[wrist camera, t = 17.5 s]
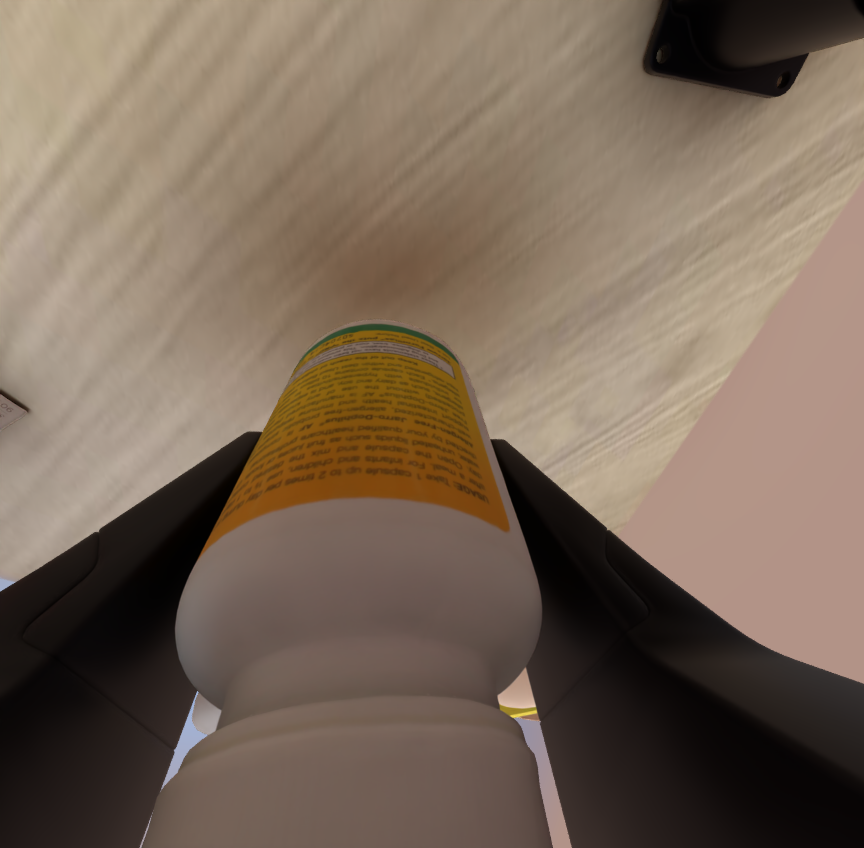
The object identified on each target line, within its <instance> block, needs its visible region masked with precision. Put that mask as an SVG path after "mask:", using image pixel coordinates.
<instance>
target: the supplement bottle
mask: <svg viewBox="0 0 864 848" xmlns="http://www.w3.org/2000/svg"><path fill="white" fill-rule="evenodd" d="M541 624H542V600H541V594H540V589H539V585H538V580H537V577H536V574H535V571H534V567H533V564H532V561H531V558H530V555H529V552H528V548H527V545H526V542H525V539H524V536H523V533H522V530H521V527H520V524H519V521H518V519H517V516H516V513H515V510H514V507H513V505H512V502H511V499H510V496H509V493H508V490H507V487H506V484H505V481H504V478H503V475H502V472H501V469H500V467H499V464H498V461H497V458H496V455H495V452H494V449H493V446H492V443H491V440H490V437H489V434H488V431H487V428H486V425H485V422H484V419H483V416H482V413H481V410H480V407H479V404H478V401H477V398H476V395H475V391H474V388H473V386H472V384H471V381H470V378H469V376H468V374H467V372H466V369H465V367H464V365H463V364H462V362H461V361H460V359H459V358H458V356H457V355H456V354H455V353H454V352H453V351H452V349H451V348H450V347H449V346H448V345H447V344H446V343H445V342H443V341H442V340H441V339H439V338H438V337H436V336H435V335H433V334H431V333H429V332H427V331H424V330H423V329H421V328H417V327H415V326H412V325H409V324H406V323H402V322H399V321H393V320H385V319H368V320H361V321H356V322H352V323H348V324H345V325H342V326H340V327H338V328H335V329H333V330H331V331H329V332H328V333H326V334H325V335H323V336H322V337H320V338H319V339H317V340H316V341H315V342H314V343H313V344H312V345H311V346H310V347H309V348H308V349H307V351H306V352H305V353H304V355H303V356H302V358H301V360H300V361H299V363H298V365H297V366H296V368H295V370H294V372H293V374H292V376H291V378H290V380H289V382H288V384H287V385H286V387H285V389H284V391H283V393H282V394H281V396H280V398H279V400H278V403H277V405H276V407H275V409H274V411H273V413H272V415H271V417H270V419H269V421H268V423H267V425H266V426H265V428H264V430H263V432H262V434H261V436H260V438H259V440H258V442H257V444H256V446H255V448H254V450H253V452H252V454H251V456H250V458H249V459H248V461H247V463H246V465H245V467H244V469H243V471H242V473H241V475H240V477H239V479H238V481H237V483H236V485H235V487H234V489H233V491H232V493H231V495H230V497H229V499H228V501H227V503H226V505H225V507H224V509H223V511H222V513H221V515H220V517H219V519H218V521H217V523H216V525H215V526H214V528H213V530H212V532H211V534H210V536H209V538H208V540H207V542H206V544H205V546H204V548H203V550H202V552H201V554H200V556H199V558H198V560H197V562H196V564H195V565H194V567H193V569H192V571H191V573H190V575H189V577H188V580H187V582H186V585H185V587H184V590H183V593H182V596H181V599H180V602H179V606H178V610H177V616H176V625H175V638H176V646H177V651H178V656H179V660H180V662H181V665H182V667H183V669H184V672H185V674H186V676H187V677H188V679H189V680H190V682H191V683H192V685H193V686H194V687H195V688H196V690H197V691H198V692H199V693H200V694H201V695H202V696H203V697H204V698H205V699H206V700H207V701H209V702H210V703H211V704H212V705H214V706H215V707H217V708H218V709H220V710H221V714H220V717H219V721H218V724H217V727H216V731H215V732H213V733H211V734H209V735H208V736H207V737H205V738H204V739H202V740H201V741H200V742H199V743H197V744H196V745H195V746H194V747H193V748H192V749H190V750H189V752H188V753H187V755H186V756H185V758H184V760H183V762H182V764H181V766H180V769H179V771H178V773H177V774H176V775H175V776H174V777H173V778H172V779H171V780H170V781H169V782H168V783H167V784H166V785H165V786H164V788H163V789H162V790H161V792H160V793H159V795H158V797H157V799H156V803H155V806H154V810H153V814H152V817H151V821H150V824H149V828H148V831H147V834H146V837H145V840H144V842H143V845H142V848H553V846H552V842H551V837H550V832H549V827H548V823H547V818H546V813H545V809H544V804H543V799H542V795H541V790H540V785H539V775H538V767H537V762H536V758H535V755H534V753H533V752H532V751H531V750H530V748H529V747H528V745H527V743H526V741H525V738H524V734H523V731H522V728H521V726H520V725H519V724H518V722H517V721H516V720H515V719H514V718H512V717H511V716H509V715H508V714H506V713H505V712H503V711H501V710H500V706H499V701H498V695H499V694H500V693H502V692H503V691H504V690H506V689H507V688H508V687H509V686H510V685H511V684H512V683H513V682H514V681H515V680H516V679H517V678H518V676H519V675H520V674H521V673H522V671H523V670H524V668H525V667H526V665H527V664H528V662H529V660H530V658H531V656H532V654H533V652H534V650H535V648H536V645H537V642H538V638H539V634H540V629H541Z"/></svg>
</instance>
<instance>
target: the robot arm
mask: <svg viewBox="0 0 864 848" xmlns="http://www.w3.org/2000/svg"><path fill="white" fill-rule="evenodd" d="M862 38H864V0H663V3H662V6H661V9H660V12H659V15H658V18H657V21H656V24H655V27H654V31H653V34H652V37H651V40H650V43H649V46H648V49H647V52H646V55H645V60H644V66H645V69H646V71H647V73H649V74H651V75H656V76H661V77H666V78H671V79H676V80H680V81H685V82H690V83H695V84H700V85H705V86H710V87H715V88H720V89H725V90H729V91H734V92H739V93H744V94H749V95H754V96H759V97H764V98H773V97H778V96H781V95H783V94H785V93H786V92H787V91H788V90H789V89H790V88H791V86H792V84H793V83H794V81H795V79H796V77H797V76H798V74H799V72H800V70H801V68H802V66H803V64H804V62H805V60H806V58H807V56H808V54H809V53H810V52H814V51H818V50H821V49H825V48H829V47H832V46H836V45H840V44H843V43H847V42H851V41H854V40H858V39H862ZM660 48H661V49H663V53H664V54H663V59H662V61H661V62H660V63H658V62H657V59H656V57H657V52H658V51H659V49H660ZM780 76H782V80H781V83H780V84H779V86H778V87H777V81H778V79H779V77H780ZM261 434H262V432H251V431H250V432H246V433H244V434H243V435H241V436H240V437H238V438H237V439H235V440H234V441H232V442H231V443H229V444H228V445H226V446H224V447H223V448H221V449H220V450H218V451H217V452H215V453H214V454H212V455H211V456H209V457H208V458H206V459H205V460H203V461H202V462H200V463H199V464H197V465H196V466H194V467H193V468H191V469H190V470H188V471H187V472H185V473H184V474H182V475H181V476H179V477H178V478H176V479H175V480H173V481H172V482H170V483H169V484H167V485H166V486H164V487H163V488H161V489H159V490H158V491H156V492H155V493H153V494H152V495H150V496H149V497H147V498H146V499H144V500H143V501H141V502H140V503H138V504H137V505H135V506H134V507H132V508H131V509H129V510H128V511H126V512H125V513H123V514H122V515H120V516H119V517H117V518H116V519H114V520H113V521H111V522H110V523H108V524H107V525H105V526H104V527H102V528H101V529H100V530H99V532H94V533H93V534H91V535H90V536H88V537H87V538H85V539H84V540H82V541H81V542H79V543H78V544H76V545H75V546H73V547H72V548H70V549H68V550H67V551H65V552H64V553H62V554H61V555H59V556H57V557H56V558H54V559H53V560H51V561H50V562H48V563H46V564H45V565H43V566H42V567H40V568H39V569H37V570H35V571H34V572H32V573H30V574H29V575H27V576H25V577H24V578H22V579H20V580H19V581H17V582H15V583H14V584H12V585H10V586H9V587H7V588H5V589H4V590H2V591H1V592H0V848H139V847H140V845H141V842H142V839H143V837H144V834H145V831H146V828H147V826H148V823H149V820H150V818H151V815H152V812H153V810H154V806H155V803H156V799H157V797H158V795H159V793H160V791H161V788H162V785H163V782H164V780H165V777H166V774H167V772H168V769H169V766H170V763H171V761H172V758H173V755H174V749H175V748H176V747H177V744H178V741H179V738H180V735H181V733H182V730H183V727H184V725H185V722H186V719H187V717H188V714H189V711H190V709H191V706H192V703H193V700H194V698H195V695H196V693H197V690H196V688H195V687H194V686H193V685H192V683H191V682H190V680H189V679H188V677H187V676H186V674H185V672H184V669H183V667H182V665H181V662H180V660H179V656H178V651H177V646H176V638H175V625H176V616H177V610H178V606H179V602H180V599H181V596H182V593H183V590H184V587H185V585H186V582H187V580H188V577H189V575H190V573H191V571H192V569H193V567H194V565H195V564H196V562H197V560H198V558H199V556H200V554H201V552H202V550H203V548H204V546H205V544H206V542H207V540H208V538H209V536H210V534H211V532H212V530H213V528H214V526H215V525H216V523H217V521H218V519H219V517H220V515H221V513H222V511H223V509H224V507H225V505H226V503H227V501H228V499H229V497H230V495H231V493H232V491H233V489H234V487H235V485H236V483H237V481H238V479H239V477H240V475H241V473H242V471H243V469H244V467H245V465H246V463H247V461H248V459H249V458H250V456H251V454H252V452H253V450H254V448H255V446H256V444H257V442H258V440H259V438H260V436H261ZM490 440H491V443H492V446H493V449H494V452H495V455H496V458H497V461H498V464H499V467H500V469H501V472H502V475H503V478H504V481H505V484H506V487H507V490H508V493H509V496H510V499H511V502H512V505H513V507H514V510H515V513H516V516H517V519H518V521H519V524H520V527H521V530H522V533H523V536H524V539H525V542H526V545H527V548H528V552H529V555H530V558H531V561H532V564H533V567H534V571H535V574H536V577H537V580H538V585H539V589H540V594H541V600H542V624H541V629H540V634H539V638H538V642H537V645H536V648H535V650H534V652H533V654H532V656H531V658H530V660H529V662H528V664H527V665H526V670H527V674H528V678H529V682H530V686H531V690H532V694H533V698H534V701H535V705H536V709H537V713H538V717H539V720H540V721H541V722H540V725H541V729H542V733H543V737H544V741H545V745H546V748H547V753H548V756H549V760H550V764H551V768H552V772H553V776H554V780H555V784H556V787H557V791H558V795H559V799H560V803H561V807H562V811H563V815H564V818H565V822H566V826H567V830H568V834H569V838H570V842H571V845H572V848H864V684H863V683H860V682H857V681H854V680H852V679H849V678H846V677H843V676H840V675H837V674H834V673H831V672H829V671H825V670H823V669H820V668H817V667H814V666H812V665H809V664H806V663H803V662H800V661H797V660H794V659H792V658H789V657H787V656H784V655H782V654H779V653H777V652H775V651H773V650H771V649H769V648H767V647H765V646H763V645H761V644H759V643H757V642H756V641H754V640H752V639H751V638H749V637H748V636H746V635H744V634H743V633H741V632H740V631H739V630H737V629H736V628H734V627H733V626H732V625H730V624H729V623H728V622H726V621H725V620H723V619H722V618H721V617H720V616H718V615H717V614H715V613H714V612H713V611H711V610H710V609H709V608H707V607H706V606H705V605H704V604H702V603H701V602H700V601H698V600H697V599H695V598H694V597H693V596H691V595H690V594H689V593H688V592H686V591H685V590H684V589H682V588H681V587H680V586H678V585H677V584H675V583H674V582H673V581H671V580H670V579H669V578H668V577H666V576H665V575H664V574H662V573H661V572H660V571H658V570H657V569H656V568H654V567H653V566H652V565H650V564H649V563H648V562H647V561H646V560H644V559H643V558H642V557H641V556H640V555H638V554H637V553H636V552H635V551H634V550H632V549H631V548H630V547H629V546H628V545H626V544H625V543H624V542H623V541H621V540H620V539H619V538H618V537H617V536H616V535H615V534H613V533H612V532H611V531H610V530H607V528H606V527H605V526H604V525H603V524H602V523H601V522H599V521H598V520H597V519H596V518H595V517H594V516H592V515H591V514H590V513H589V512H588V511H587V510H585V509H584V508H583V507H582V506H581V505H580V504H578V503H577V502H576V501H575V500H574V499H573V498H572V497H570V496H569V495H568V494H567V493H566V492H565V491H563V490H562V489H561V488H560V487H559V486H558V485H556V484H555V483H554V482H553V481H552V480H551V479H550V478H548V477H547V476H546V475H545V474H544V473H543V472H541V471H540V470H539V469H538V468H537V467H536V466H534V465H533V464H532V463H531V462H530V461H529V460H527V459H526V458H525V457H524V456H523V455H522V454H521V453H519V452H518V451H517V450H516V449H515V448H514V447H512V446H511V445H510V444H509V443H508V442H507V441H505V440H502V439H490Z"/></svg>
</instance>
